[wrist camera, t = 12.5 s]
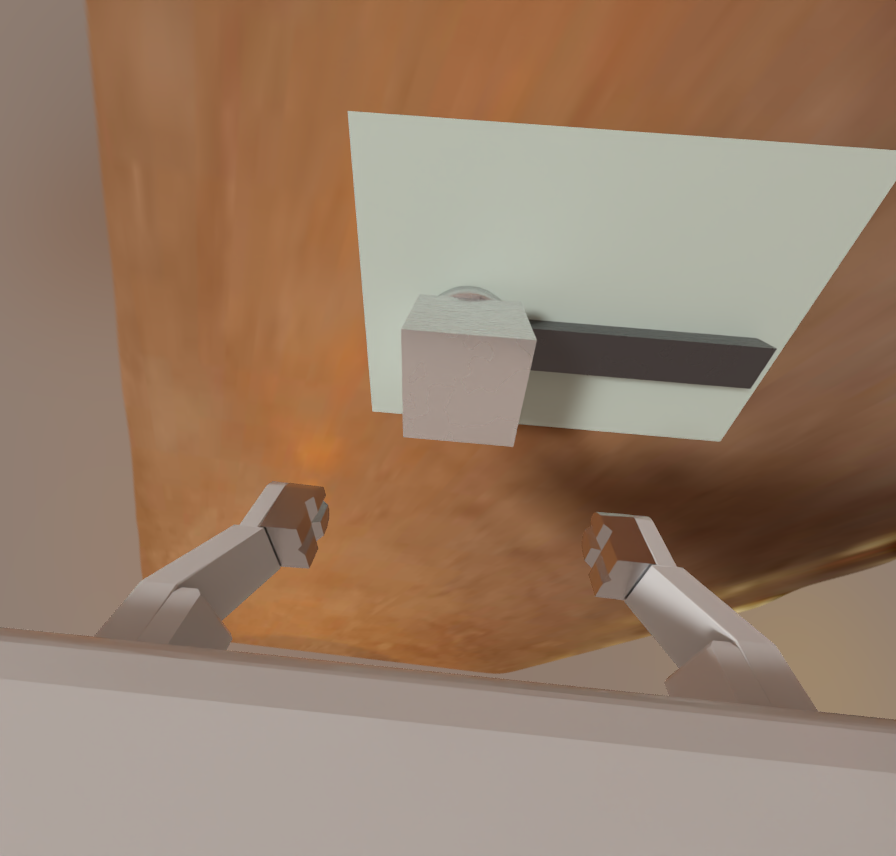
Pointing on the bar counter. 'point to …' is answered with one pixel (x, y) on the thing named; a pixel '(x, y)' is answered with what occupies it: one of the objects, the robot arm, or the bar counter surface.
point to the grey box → (465, 369)
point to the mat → (604, 245)
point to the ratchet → (641, 351)
